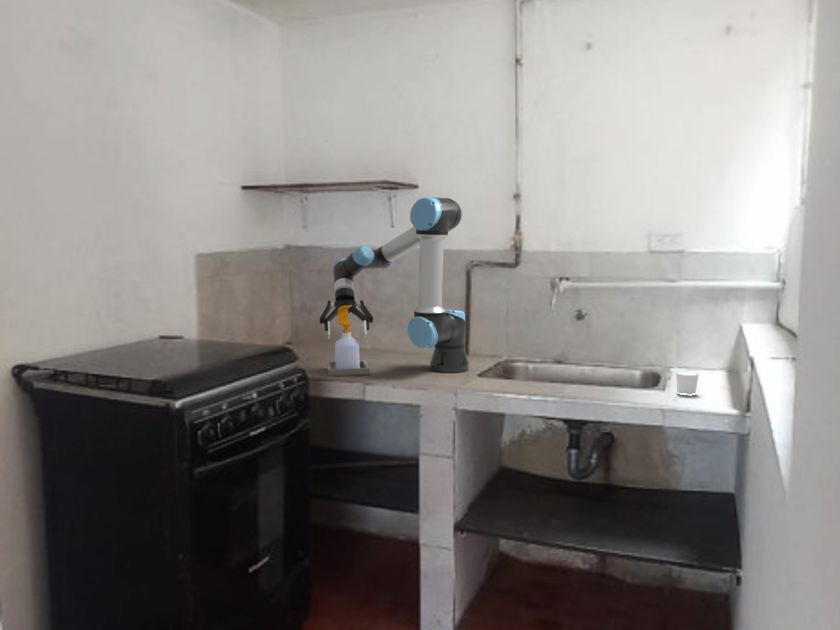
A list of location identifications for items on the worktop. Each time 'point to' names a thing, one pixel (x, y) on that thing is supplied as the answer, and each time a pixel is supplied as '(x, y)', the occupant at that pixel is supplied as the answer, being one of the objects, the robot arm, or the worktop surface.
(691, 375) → the white cup
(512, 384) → the worktop surface
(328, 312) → the robot arm
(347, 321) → the soap bottle
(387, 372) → the worktop surface
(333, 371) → the tray
